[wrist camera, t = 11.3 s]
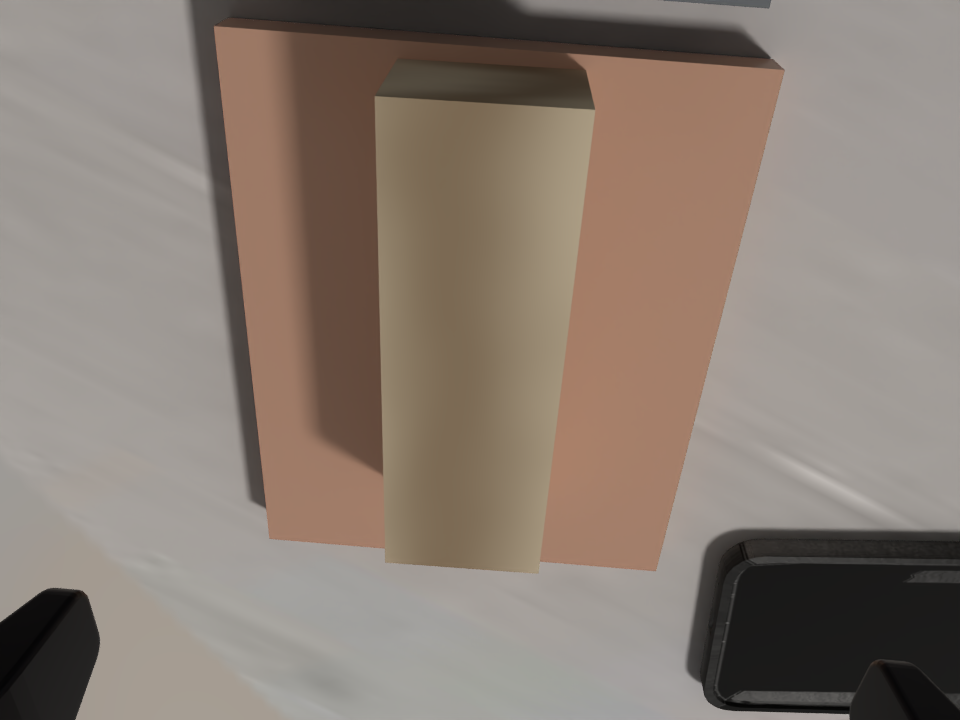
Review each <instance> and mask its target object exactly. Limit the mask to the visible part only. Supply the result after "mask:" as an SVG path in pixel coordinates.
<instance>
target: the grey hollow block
mask: <svg viewBox="0 0 960 720" xmlns="http://www.w3.org/2000/svg"><path fill="white" fill-rule="evenodd" d="M665 1H678V2H691V3H704V4H718V5H731V6H744V7H757V8H769V7H770V3H771V0H665Z"/></svg>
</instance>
